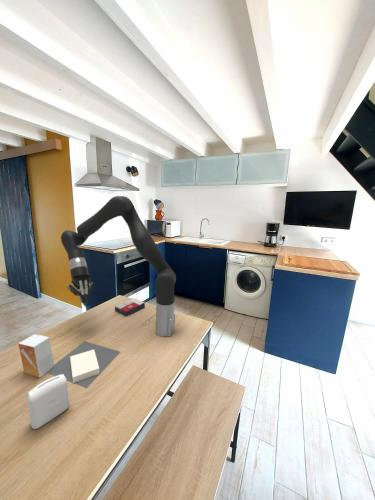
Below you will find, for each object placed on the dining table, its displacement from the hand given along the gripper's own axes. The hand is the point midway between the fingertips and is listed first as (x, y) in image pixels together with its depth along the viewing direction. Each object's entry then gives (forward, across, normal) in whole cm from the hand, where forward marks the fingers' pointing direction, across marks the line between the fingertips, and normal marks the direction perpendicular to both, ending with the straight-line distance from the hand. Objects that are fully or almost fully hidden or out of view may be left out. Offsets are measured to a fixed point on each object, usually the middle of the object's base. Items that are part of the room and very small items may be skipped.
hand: (85, 303), depth 96 cm
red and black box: (+6, +34, +17) cm, 39 cm away
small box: (+21, -18, +8) cm, 29 cm away
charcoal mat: (+24, -4, 0) cm, 25 cm away
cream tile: (+21, -5, +1) cm, 22 cm away
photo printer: (+35, -21, -10) cm, 42 cm away
